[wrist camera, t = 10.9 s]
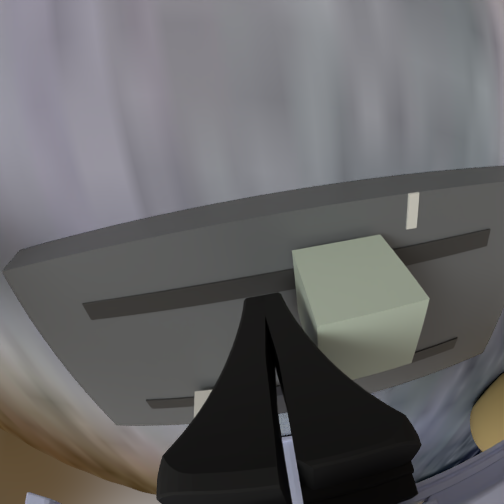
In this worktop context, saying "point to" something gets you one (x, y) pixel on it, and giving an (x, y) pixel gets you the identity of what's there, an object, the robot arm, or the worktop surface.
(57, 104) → the worktop surface
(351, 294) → the sage fader
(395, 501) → the robot arm
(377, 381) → the mixer console
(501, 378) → the sculpture
